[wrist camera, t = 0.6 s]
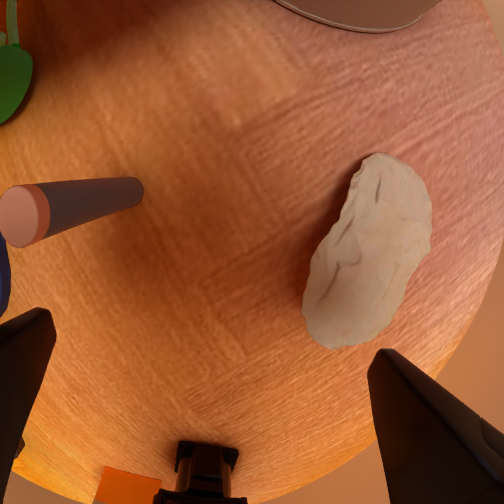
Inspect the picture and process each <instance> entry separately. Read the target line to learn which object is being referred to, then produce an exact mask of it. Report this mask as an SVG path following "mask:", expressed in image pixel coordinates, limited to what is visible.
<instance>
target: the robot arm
mask: <svg viewBox="0 0 504 504" xmlns="http://www.w3.org/2000/svg"><path fill="white" fill-rule="evenodd" d="M56 337H57V335H56V329H55V326H54V322H53V319H52V315H51V312H50V311H49V310H48V309H44V308H40V307H36V308H34V309H31V310H29V311H27V312H25V313H23V314H21V315H19V316H17V317H15V318H13V319H11V320H9V321H7V322H5V323H3V324H1V325H0V504H3V498H4V495H5V491H6V486H7V483H8V479H9V475H10V472H11V468H12V465H13V461H14V458H15V455H16V451H17V448H18V445H19V442H20V439H21V436H22V433H23V431H24V428H25V425H26V422H27V419H28V417H29V414H30V412H31V409H32V406H33V404H34V401H35V399H36V396H37V394H38V392H39V389H40V386H41V384H42V381H43V378H44V375H45V372H46V369H47V365H48V362H49V359H50V356H51V354H52V351H53V348H54V345H55V342H56ZM367 379H368V385H369V392H370V400H371V407H372V415H373V421H374V426H375V431H376V435H377V439H378V444H379V448H380V453H381V457H382V462H383V467H384V472H385V477H386V481H387V487H388V492H389V498H390V504H504V434H502V433H501V432H500V431H498V430H497V429H496V428H494V427H493V426H492V425H490V424H489V423H488V422H487V421H485V420H484V419H483V418H480V416H479V415H478V414H476V413H475V412H474V411H473V410H471V409H470V408H469V407H467V406H466V405H465V404H464V403H463V402H461V401H460V400H459V399H457V398H456V397H455V396H454V395H452V394H451V393H450V392H448V391H447V390H446V389H445V388H443V387H442V386H441V385H440V384H438V383H437V382H436V381H434V380H433V379H432V378H431V377H429V376H428V375H427V374H425V373H424V372H423V371H421V370H420V369H419V368H418V367H416V366H415V365H414V364H412V363H411V362H410V361H409V360H407V359H406V358H405V357H403V356H402V355H401V354H399V353H398V352H397V351H396V350H394V349H391V348H383V349H380V350H378V352H377V353H376V355H375V357H374V359H373V361H372V363H371V365H370V367H369V369H368V373H367ZM238 456H239V451H238V450H236V449H229V448H222V447H215V446H208V445H202V444H196V443H191V442H185V441H179V442H178V448H177V456H176V464H175V472H176V473H178V474H177V480H176V487H175V492H174V491H168V490H165V489H161V488H159V491H158V494H156V495H154V498H153V503H152V504H248V503H247V497H241V498H232V497H231V474H232V472H233V469H234V466H235V464H236V461H237V458H238Z"/></svg>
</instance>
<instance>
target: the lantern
mask: <svg viewBox="0 0 504 504" xmlns="http://www.w3.org/2000/svg"><path fill="white" fill-rule="evenodd" d="M10 278H11V270H10V265H9V260H8V255H7V249H6V242H5V239H4V237H3V236H2V234H1V231H0V317H1V316H2V314H3V313H4V312H5V310H6V309H7V305H8V300H9V295H10Z"/></svg>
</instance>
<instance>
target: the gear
mask: <svg viewBox="0 0 504 504" xmlns="http://www.w3.org/2000/svg"><path fill="white" fill-rule="evenodd" d="M24 446H25V445H24V441H23V439H22V436H21V439H20V442H19V445H18V448H17V451H16V455H15V459H16V458H17V457H18V456H19V454H20V452H21V451H22V449H23V447H24Z"/></svg>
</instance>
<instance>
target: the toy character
mask: <svg viewBox="0 0 504 504" xmlns="http://www.w3.org/2000/svg"><path fill="white" fill-rule="evenodd" d="M16 5H17V0H7V7H6V23H7V34H8V43H9V45H7V44H5V43H6V40H7V35H6V34H5V33H4V32H0V124H2V123H3V122H5V121H6V120H7V119H8V118H9V117H10V116H11V115H12V114H13V113H14V112H15V110H16V109H17V107H18V106H19V104H20V103H21V101H22V100H23V98H24V96H25V94H26V91H27V89H28V87H29V84H30V80H31V76H32V71H33V61H32V58H31V55H30V54H29V53H28V52H27V51H25V50H23V49H20V47H21V46H20V43H19V35H18V26H17V12H16Z"/></svg>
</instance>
